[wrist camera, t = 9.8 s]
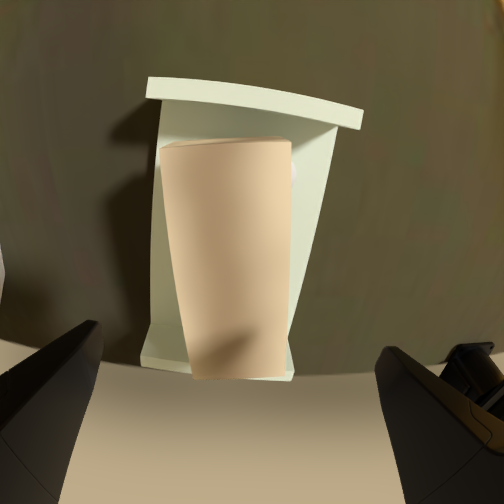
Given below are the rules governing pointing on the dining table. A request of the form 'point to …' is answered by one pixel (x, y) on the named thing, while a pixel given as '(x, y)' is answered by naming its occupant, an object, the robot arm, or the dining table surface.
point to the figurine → (1, 274)
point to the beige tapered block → (230, 251)
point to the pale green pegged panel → (228, 126)
